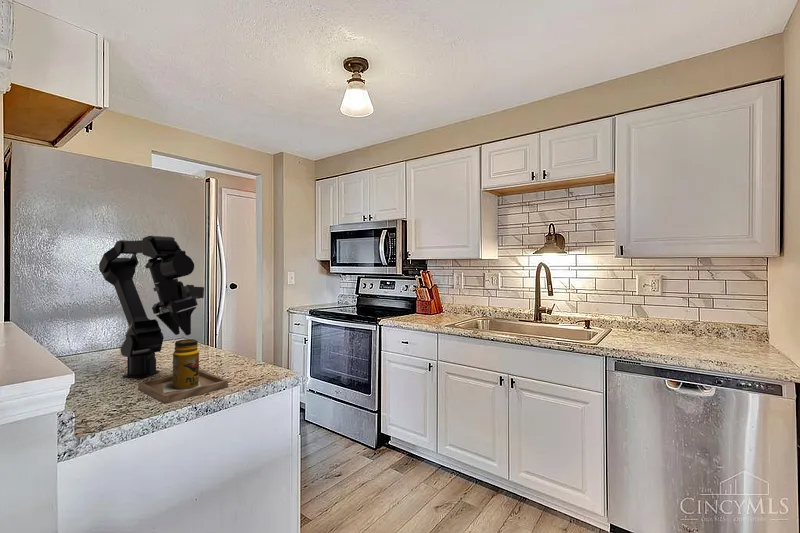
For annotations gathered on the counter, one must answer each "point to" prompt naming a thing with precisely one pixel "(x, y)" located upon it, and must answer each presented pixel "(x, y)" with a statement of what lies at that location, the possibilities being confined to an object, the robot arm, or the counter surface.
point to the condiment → (184, 366)
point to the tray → (156, 390)
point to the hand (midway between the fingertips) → (183, 334)
